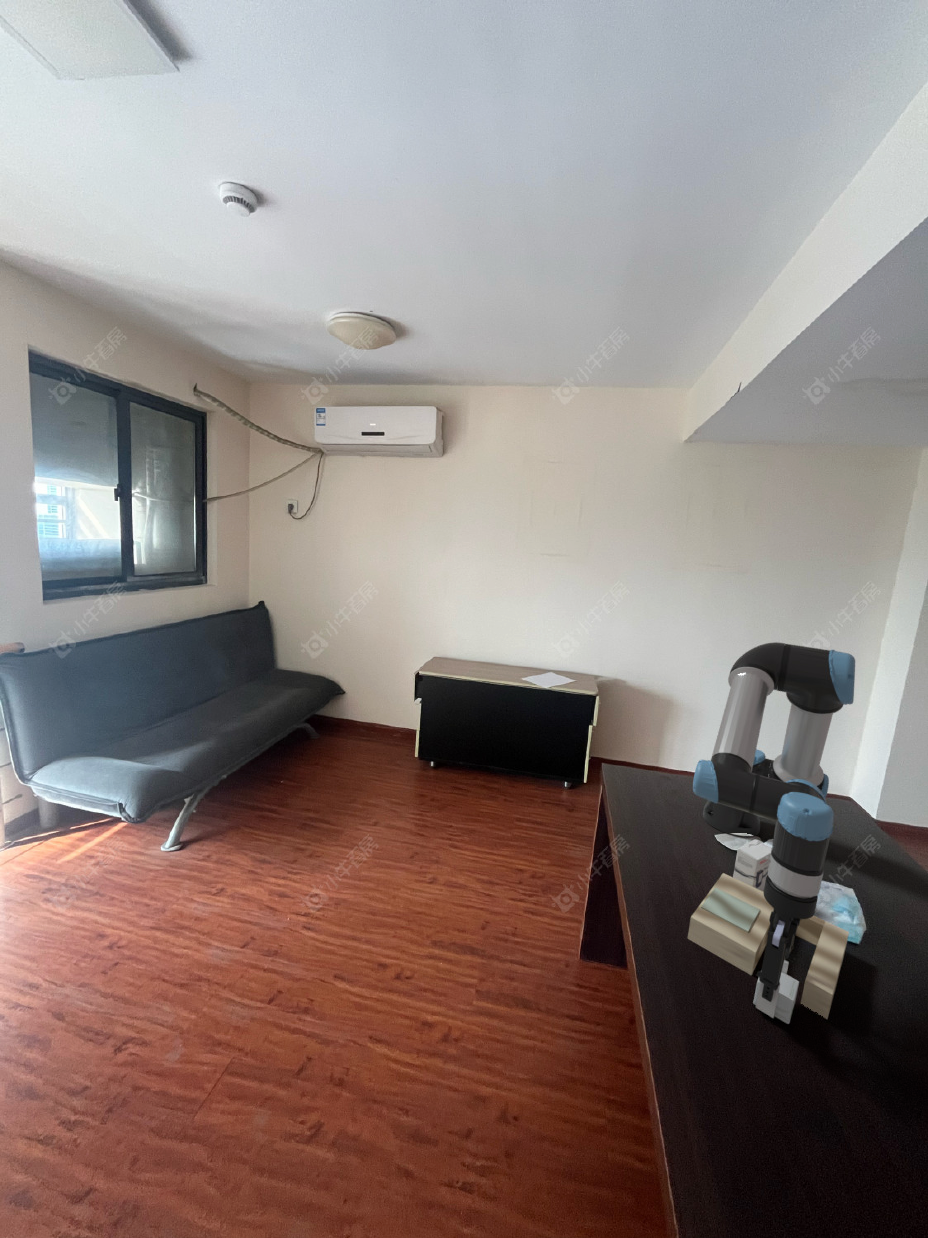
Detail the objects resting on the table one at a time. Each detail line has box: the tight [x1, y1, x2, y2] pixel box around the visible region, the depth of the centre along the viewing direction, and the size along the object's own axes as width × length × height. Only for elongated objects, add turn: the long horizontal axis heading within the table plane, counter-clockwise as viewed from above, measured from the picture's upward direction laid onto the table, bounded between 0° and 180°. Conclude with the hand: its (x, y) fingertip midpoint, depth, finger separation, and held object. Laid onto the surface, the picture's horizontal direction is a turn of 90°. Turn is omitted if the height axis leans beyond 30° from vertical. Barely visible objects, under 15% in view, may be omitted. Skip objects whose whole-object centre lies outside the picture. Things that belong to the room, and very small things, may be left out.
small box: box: [752, 972, 800, 1025], centre depth 89 cm, size 6×6×5 cm
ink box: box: [732, 839, 772, 892], centre depth 118 cm, size 8×5×12 cm, turn 123°
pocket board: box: [687, 872, 850, 1020], centre depth 103 cm, size 21×24×5 cm
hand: (769, 999), depth 89 cm, fingers closed on small box, 6 cm apart
